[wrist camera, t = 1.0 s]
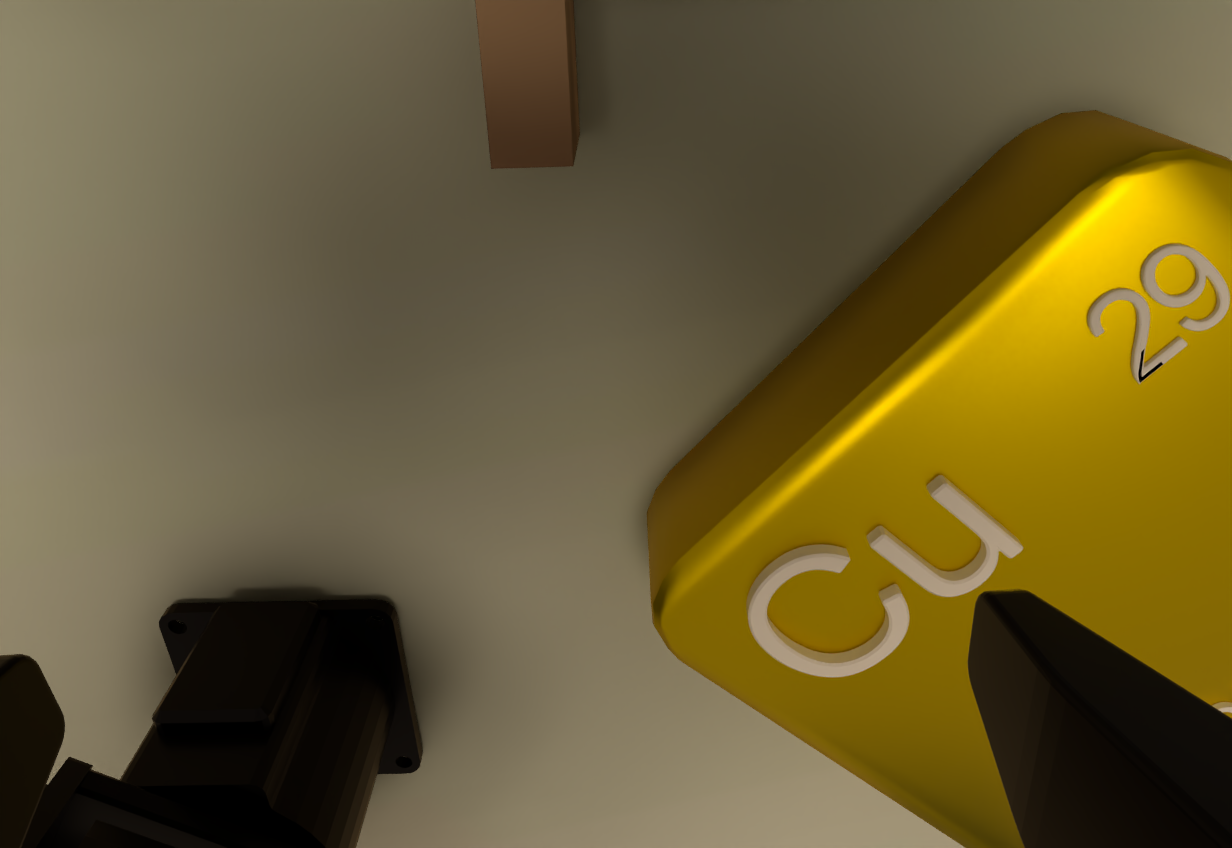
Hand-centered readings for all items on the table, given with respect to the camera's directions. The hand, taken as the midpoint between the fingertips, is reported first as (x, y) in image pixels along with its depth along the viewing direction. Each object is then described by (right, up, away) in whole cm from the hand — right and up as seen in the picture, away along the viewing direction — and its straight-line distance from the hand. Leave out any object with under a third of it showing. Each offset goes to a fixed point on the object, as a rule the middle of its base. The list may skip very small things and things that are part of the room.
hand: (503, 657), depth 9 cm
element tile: (+12, +1, +15) cm, 19 cm away
